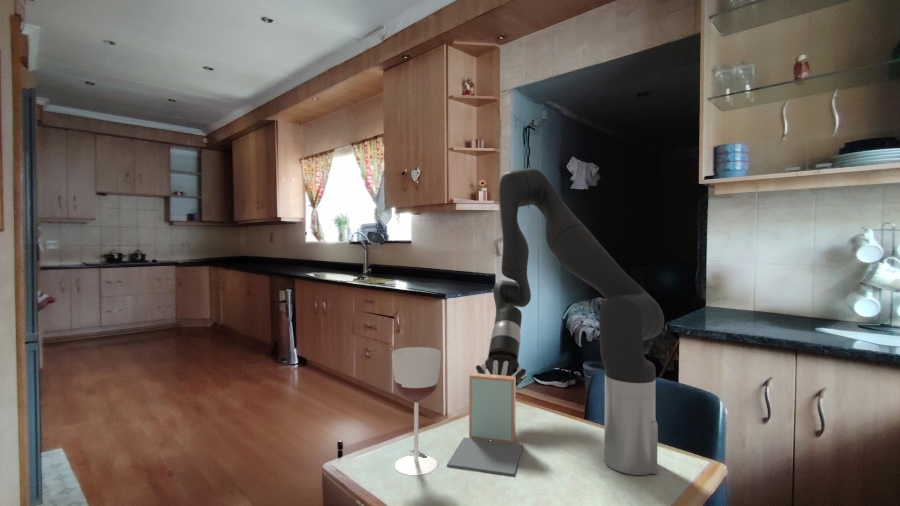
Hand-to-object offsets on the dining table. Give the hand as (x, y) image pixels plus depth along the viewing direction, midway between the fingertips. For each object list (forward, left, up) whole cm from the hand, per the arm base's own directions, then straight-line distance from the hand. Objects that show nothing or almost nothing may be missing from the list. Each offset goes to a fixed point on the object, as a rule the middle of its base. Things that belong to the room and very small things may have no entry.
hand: (496, 405), depth 103 cm
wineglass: (+12, +21, -6) cm, 25 cm away
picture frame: (0, +5, -6) cm, 8 cm away
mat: (-1, +13, -6) cm, 15 cm away
